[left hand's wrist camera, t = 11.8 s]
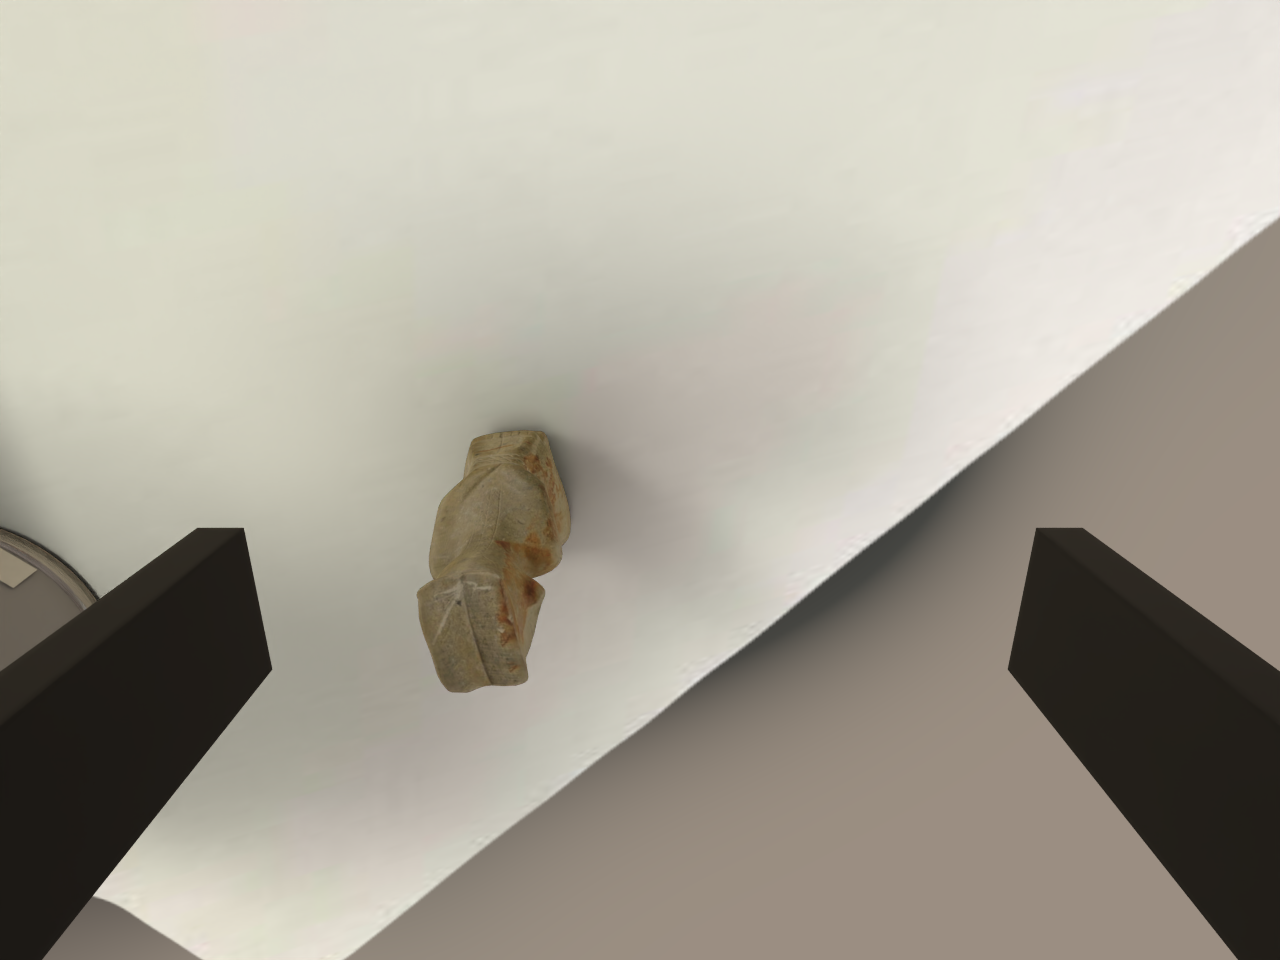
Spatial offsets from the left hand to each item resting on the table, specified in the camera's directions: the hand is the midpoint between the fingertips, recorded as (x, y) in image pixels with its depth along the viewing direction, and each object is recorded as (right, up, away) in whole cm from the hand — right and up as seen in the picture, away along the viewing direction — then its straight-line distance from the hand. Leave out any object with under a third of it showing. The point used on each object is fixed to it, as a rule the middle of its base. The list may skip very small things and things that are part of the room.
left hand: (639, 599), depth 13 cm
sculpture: (-6, +2, +28) cm, 29 cm away
